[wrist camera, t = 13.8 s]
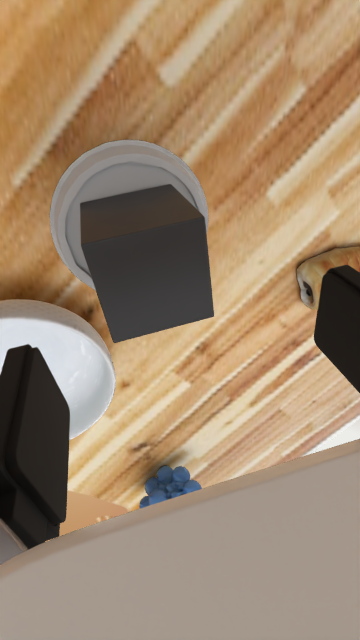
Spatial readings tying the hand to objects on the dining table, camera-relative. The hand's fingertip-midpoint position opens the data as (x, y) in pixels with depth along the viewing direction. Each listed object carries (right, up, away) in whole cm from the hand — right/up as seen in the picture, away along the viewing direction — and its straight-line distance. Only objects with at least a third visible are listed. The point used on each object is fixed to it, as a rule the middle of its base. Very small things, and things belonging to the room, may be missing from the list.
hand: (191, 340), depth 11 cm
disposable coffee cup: (-6, +12, +18) cm, 23 cm away
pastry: (+17, +7, +29) cm, 34 cm away
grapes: (-4, -23, +43) cm, 49 cm away
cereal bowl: (-17, -2, +25) cm, 30 cm away
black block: (-3, +5, +8) cm, 10 cm away
